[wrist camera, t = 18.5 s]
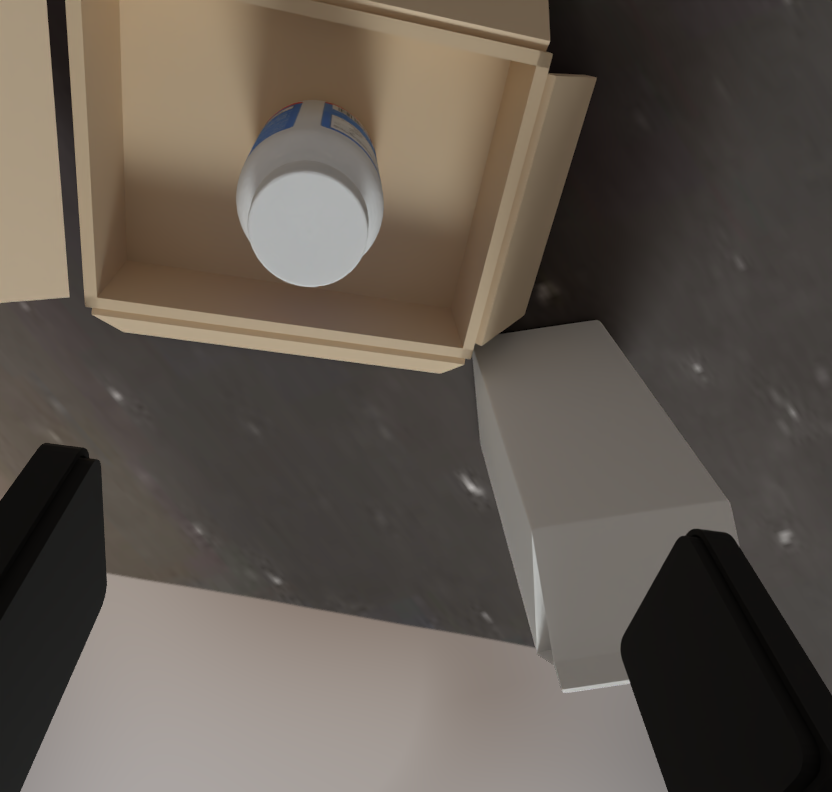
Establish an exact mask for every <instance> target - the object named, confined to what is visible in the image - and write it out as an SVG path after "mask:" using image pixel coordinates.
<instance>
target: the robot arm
mask: <svg viewBox="0 0 832 792" xmlns="http://www.w3.org/2000/svg"><path fill="white" fill-rule="evenodd" d="M106 586H107V579H106V558H105V538H104V518H103V498H102V478H101V464H100V461H99V460H97V459H89V453H88V451H87V449H85V448H81V447H73V446H65V445H58V444H50V443H44V444H42V445H41V446H40V447H39V448H38V449H37V451H36V452H35V454H34V455H33V456H32V458H31V459H30V460H29V462H28V463H27V465H26V466H25V467H24V469H23V470H22V472H21V473H20V474H19V476H18V477H17V479H16V480H15V481H14V483H13V484H12V485H11V487H10V488H9V490H8V491H7V492H6V494H5V495H4V497H3V498H2V499H1V501H0V792H20V791H21V788H22V786H23V784H24V781H25V779H26V777H27V775H28V773H29V770H30V768H31V766H32V763H33V761H34V759H35V757H36V754H37V752H38V750H39V748H40V745H41V743H42V741H43V739H44V736H45V734H46V732H47V730H48V727H49V725H50V723H51V720H52V718H53V716H54V714H55V711H56V709H57V707H58V705H59V702H60V700H61V698H62V695H63V693H64V691H65V689H66V686H67V684H68V682H69V680H70V677H71V675H72V673H73V671H74V668H75V666H76V664H77V661H78V659H79V657H80V654H81V652H82V650H83V648H84V646H85V643H86V641H87V639H88V637H89V634H90V632H91V630H92V628H93V625H94V623H95V621H96V618H97V616H98V614H99V612H100V609H101V607H102V604H103V601H104V598H105V593H106ZM620 651H621V657H622V661H623V664H624V667H625V670H626V672H627V675H628V678H629V681H630V684H631V687H632V690H633V692H634V695H635V698H636V701H637V704H638V707H639V710H640V712H641V715H642V718H643V721H644V724H645V727H646V730H647V732H648V735H649V738H650V741H651V744H652V747H653V750H654V752H655V755H656V758H657V761H658V764H659V767H660V769H661V772H662V775H663V778H664V781H665V784H666V787H667V790H668V792H832V695H831V693H830V692H829V690H828V689H827V687H826V685H825V684H824V682H823V681H822V679H821V677H820V676H819V674H818V672H817V671H816V669H815V668H814V666H813V664H812V663H811V661H810V660H809V658H808V656H807V655H806V653H805V652H804V650H803V648H802V647H801V645H800V644H799V642H798V640H797V639H796V637H795V636H794V634H793V632H792V631H791V629H790V628H789V626H788V624H787V623H786V621H785V620H784V618H783V616H782V615H781V613H780V611H779V610H778V608H777V607H776V605H775V603H774V602H773V600H772V599H771V597H770V595H769V594H768V592H767V591H766V589H765V587H764V586H763V584H762V583H761V581H760V579H759V578H758V576H757V575H756V573H755V571H754V570H753V568H752V567H751V565H750V563H749V562H748V560H747V559H746V557H745V555H744V554H743V552H742V551H741V549H740V547H739V546H738V544H737V542H736V541H735V539H734V538H733V537H732V536H731V535H730V534H728V533H726V532H719V531H711V530H703V529H692V530H690V531H689V532H688V533H687V534H686V535H685V536H681V537H679V538H678V539H677V540H676V542H675V544H674V546H673V547H672V549H671V551H670V553H669V555H668V556H667V558H666V560H665V562H664V563H663V565H662V567H661V569H660V571H659V572H658V574H657V576H656V578H655V579H654V581H653V583H652V585H651V587H650V588H649V590H648V592H647V594H646V596H645V597H644V599H643V601H642V603H641V604H640V606H639V608H638V610H637V612H636V613H635V615H634V617H633V619H632V620H631V622H630V624H629V626H628V628H627V629H626V631H625V633H624V635H623V637H622V640H621V647H620Z"/></svg>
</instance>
